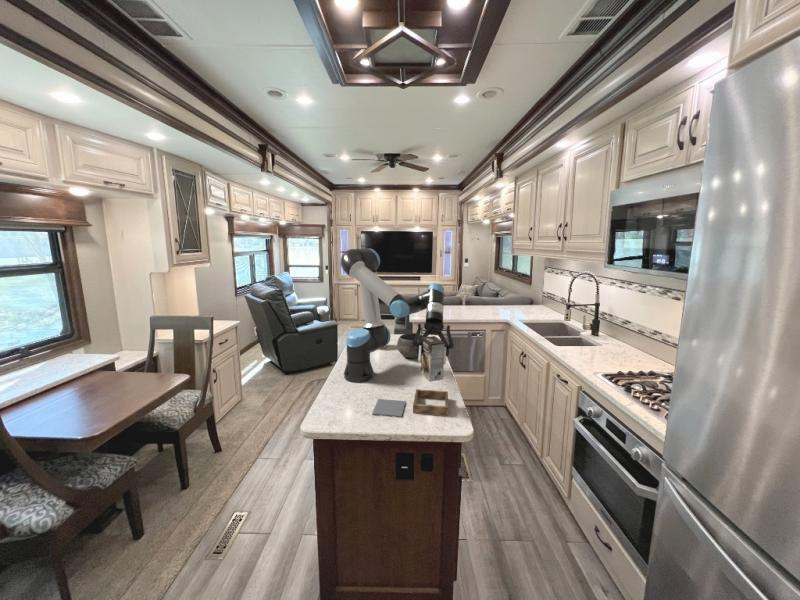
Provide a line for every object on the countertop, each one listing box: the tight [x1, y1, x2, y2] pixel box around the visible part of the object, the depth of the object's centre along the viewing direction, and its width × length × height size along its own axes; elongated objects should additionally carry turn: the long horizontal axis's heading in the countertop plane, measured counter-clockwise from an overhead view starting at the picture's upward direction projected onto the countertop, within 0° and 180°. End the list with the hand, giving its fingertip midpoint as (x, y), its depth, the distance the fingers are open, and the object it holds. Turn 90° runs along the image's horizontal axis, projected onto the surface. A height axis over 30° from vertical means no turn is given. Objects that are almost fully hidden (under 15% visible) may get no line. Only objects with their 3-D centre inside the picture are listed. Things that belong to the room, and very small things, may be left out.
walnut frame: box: [412, 388, 449, 417], centre depth 137 cm, size 14×14×4 cm
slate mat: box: [371, 398, 406, 418], centre depth 135 cm, size 12×12×1 cm
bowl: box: [396, 332, 423, 359], centre depth 192 cm, size 18×18×13 cm
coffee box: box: [420, 335, 445, 382], centre depth 133 cm, size 9×6×16 cm
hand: (431, 362), depth 130 cm, fingers closed on coffee box, 9 cm apart
